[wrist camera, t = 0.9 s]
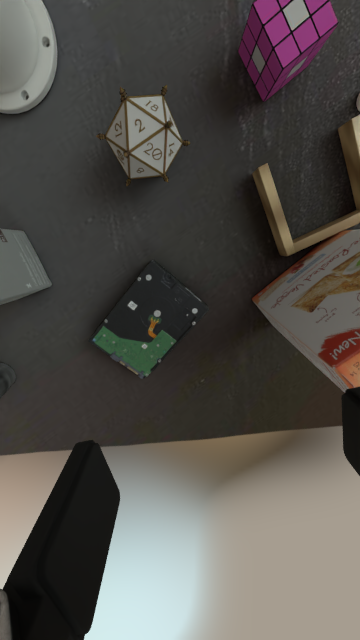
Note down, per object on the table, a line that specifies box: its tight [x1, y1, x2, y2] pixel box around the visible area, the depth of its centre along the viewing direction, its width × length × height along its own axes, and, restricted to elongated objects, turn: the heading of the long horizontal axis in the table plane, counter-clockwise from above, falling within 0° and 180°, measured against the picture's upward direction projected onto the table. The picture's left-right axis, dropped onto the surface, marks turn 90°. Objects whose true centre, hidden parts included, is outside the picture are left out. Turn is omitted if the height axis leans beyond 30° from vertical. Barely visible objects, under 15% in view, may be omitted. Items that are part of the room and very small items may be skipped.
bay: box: [252, 115, 360, 256], centre depth 30 cm, size 11×12×2 cm
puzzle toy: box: [238, 0, 338, 102], centre depth 24 cm, size 6×6×6 cm
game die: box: [96, 85, 190, 186], centre depth 26 cm, size 9×8×10 cm
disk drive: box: [89, 260, 209, 378], centre depth 35 cm, size 10×3×15 cm
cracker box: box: [252, 229, 360, 393], centre depth 24 cm, size 14×6×21 cm, turn 132°
